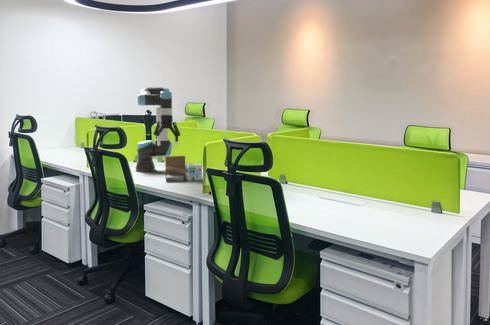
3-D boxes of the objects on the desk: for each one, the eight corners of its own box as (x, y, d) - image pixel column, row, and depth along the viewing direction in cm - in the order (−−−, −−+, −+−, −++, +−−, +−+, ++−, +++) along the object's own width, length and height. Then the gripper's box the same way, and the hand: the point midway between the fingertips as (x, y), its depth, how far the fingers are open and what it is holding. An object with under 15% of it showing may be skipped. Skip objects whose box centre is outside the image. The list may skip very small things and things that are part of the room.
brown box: (165, 177, 317) (165, 155, 314) (185, 177, 318) (185, 155, 316) (164, 181, 302) (164, 159, 300) (184, 181, 304) (184, 158, 301)
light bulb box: (188, 181, 306) (187, 165, 304) (184, 179, 312) (184, 164, 310) (202, 179, 311) (202, 164, 309) (198, 178, 317) (198, 163, 315)
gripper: (147, 114, 296) (148, 145, 300) (179, 115, 286) (179, 147, 290) (154, 114, 303) (155, 144, 306) (185, 114, 293) (185, 146, 297)
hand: (167, 145), depth 298 cm, fingers open, 13 cm apart
